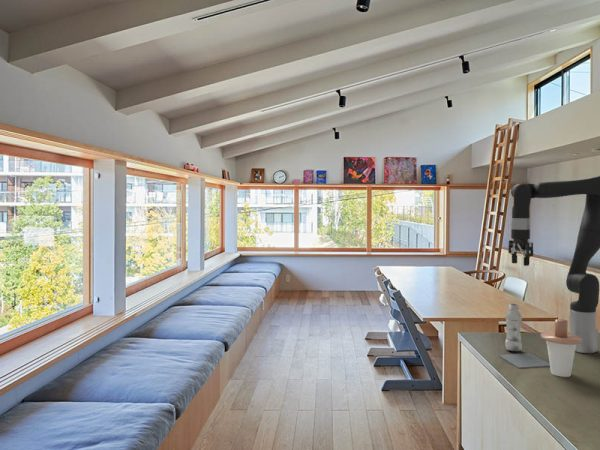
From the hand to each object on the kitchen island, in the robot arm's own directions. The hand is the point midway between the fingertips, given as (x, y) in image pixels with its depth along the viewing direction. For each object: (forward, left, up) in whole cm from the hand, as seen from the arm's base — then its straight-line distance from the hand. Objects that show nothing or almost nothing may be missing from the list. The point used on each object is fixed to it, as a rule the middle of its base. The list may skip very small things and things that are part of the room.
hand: (520, 264), depth 194 cm
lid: (+7, +35, -23) cm, 42 cm away
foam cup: (+7, +35, -36) cm, 50 cm away
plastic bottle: (+9, +9, -36) cm, 38 cm away
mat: (+12, +21, -36) cm, 43 cm away
